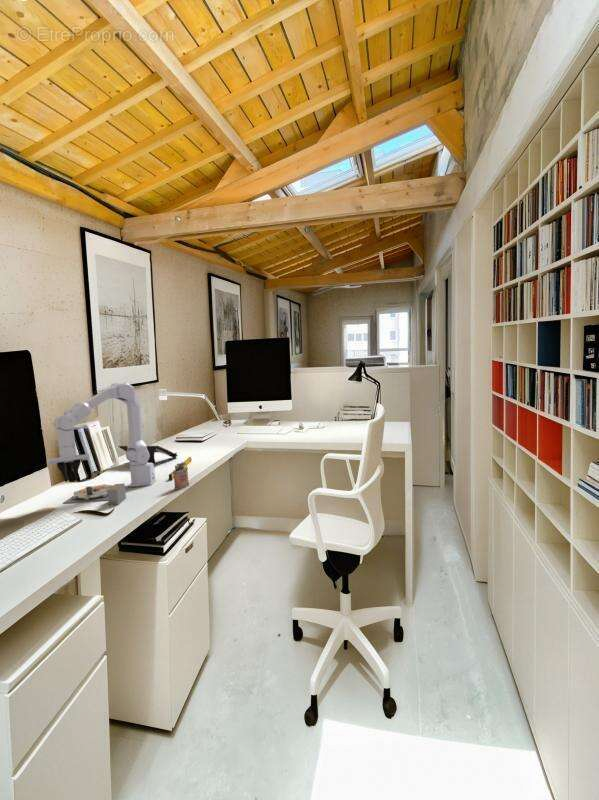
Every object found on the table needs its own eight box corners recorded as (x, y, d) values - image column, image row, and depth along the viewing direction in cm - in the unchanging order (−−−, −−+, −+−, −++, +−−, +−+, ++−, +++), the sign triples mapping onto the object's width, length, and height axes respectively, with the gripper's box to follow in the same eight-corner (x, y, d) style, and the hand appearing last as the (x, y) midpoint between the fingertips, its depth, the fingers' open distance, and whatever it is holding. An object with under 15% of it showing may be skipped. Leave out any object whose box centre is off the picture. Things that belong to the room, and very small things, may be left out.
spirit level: (189, 462, 232) (188, 457, 231) (191, 462, 232) (191, 456, 231) (169, 481, 198) (168, 474, 198) (172, 481, 198) (171, 474, 198)
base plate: (126, 486, 193) (126, 485, 193) (110, 500, 175) (109, 499, 175) (83, 489, 193) (83, 488, 192) (62, 503, 175) (62, 502, 175)
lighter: (179, 490, 182) (177, 465, 181) (172, 490, 183) (170, 465, 182) (191, 484, 190) (189, 461, 189) (184, 484, 191) (182, 460, 190)
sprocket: (124, 485, 192) (123, 476, 192) (109, 498, 175) (107, 487, 175) (84, 488, 192) (83, 478, 192) (64, 501, 175) (63, 490, 175)
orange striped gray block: (126, 498, 176) (124, 483, 175) (118, 505, 168) (116, 489, 168) (116, 499, 176) (115, 483, 175) (108, 506, 168) (107, 490, 167)
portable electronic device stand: (179, 469, 243) (182, 452, 246) (155, 459, 222) (158, 441, 226) (142, 469, 250) (145, 452, 253) (115, 459, 229) (119, 441, 232)
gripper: (44, 450, 167) (48, 486, 169) (87, 444, 173) (91, 479, 174) (46, 447, 174) (50, 482, 175) (88, 441, 179) (92, 475, 181)
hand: (71, 480), depth 175 cm, fingers open, 3 cm apart
